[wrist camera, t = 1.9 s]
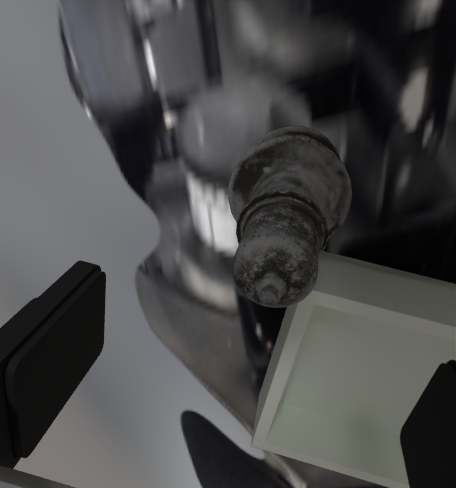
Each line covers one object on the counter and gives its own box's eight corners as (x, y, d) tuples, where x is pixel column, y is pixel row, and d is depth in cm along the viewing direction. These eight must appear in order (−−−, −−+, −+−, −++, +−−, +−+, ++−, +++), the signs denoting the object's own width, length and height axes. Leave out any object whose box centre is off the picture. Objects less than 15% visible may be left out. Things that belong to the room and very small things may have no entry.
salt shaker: (345, 222, 23) (367, 383, 12) (244, 222, 24) (187, 369, 14) (349, 116, 20) (381, 210, 10) (235, 123, 21) (157, 213, 11)
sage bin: (305, 246, 24) (303, 287, 20) (539, 304, 23) (583, 360, 19) (259, 394, 31) (250, 446, 27) (436, 445, 30) (454, 506, 26)
